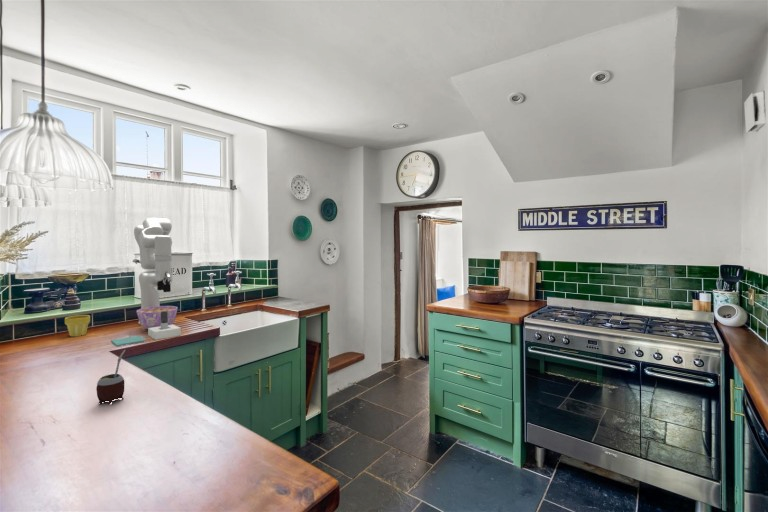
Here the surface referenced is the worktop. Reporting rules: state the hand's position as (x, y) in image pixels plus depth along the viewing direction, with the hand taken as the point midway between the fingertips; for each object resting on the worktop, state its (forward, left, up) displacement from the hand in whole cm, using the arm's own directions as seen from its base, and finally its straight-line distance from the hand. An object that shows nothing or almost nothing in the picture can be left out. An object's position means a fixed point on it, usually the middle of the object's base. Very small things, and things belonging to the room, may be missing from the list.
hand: (163, 290), depth 191 cm
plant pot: (-34, -31, -24) cm, 52 cm away
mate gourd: (+75, -37, -24) cm, 87 cm away
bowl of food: (-18, +2, -24) cm, 30 cm away
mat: (0, -16, -24) cm, 29 cm away
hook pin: (0, 0, -24) cm, 24 cm away
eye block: (0, 0, -24) cm, 24 cm away
